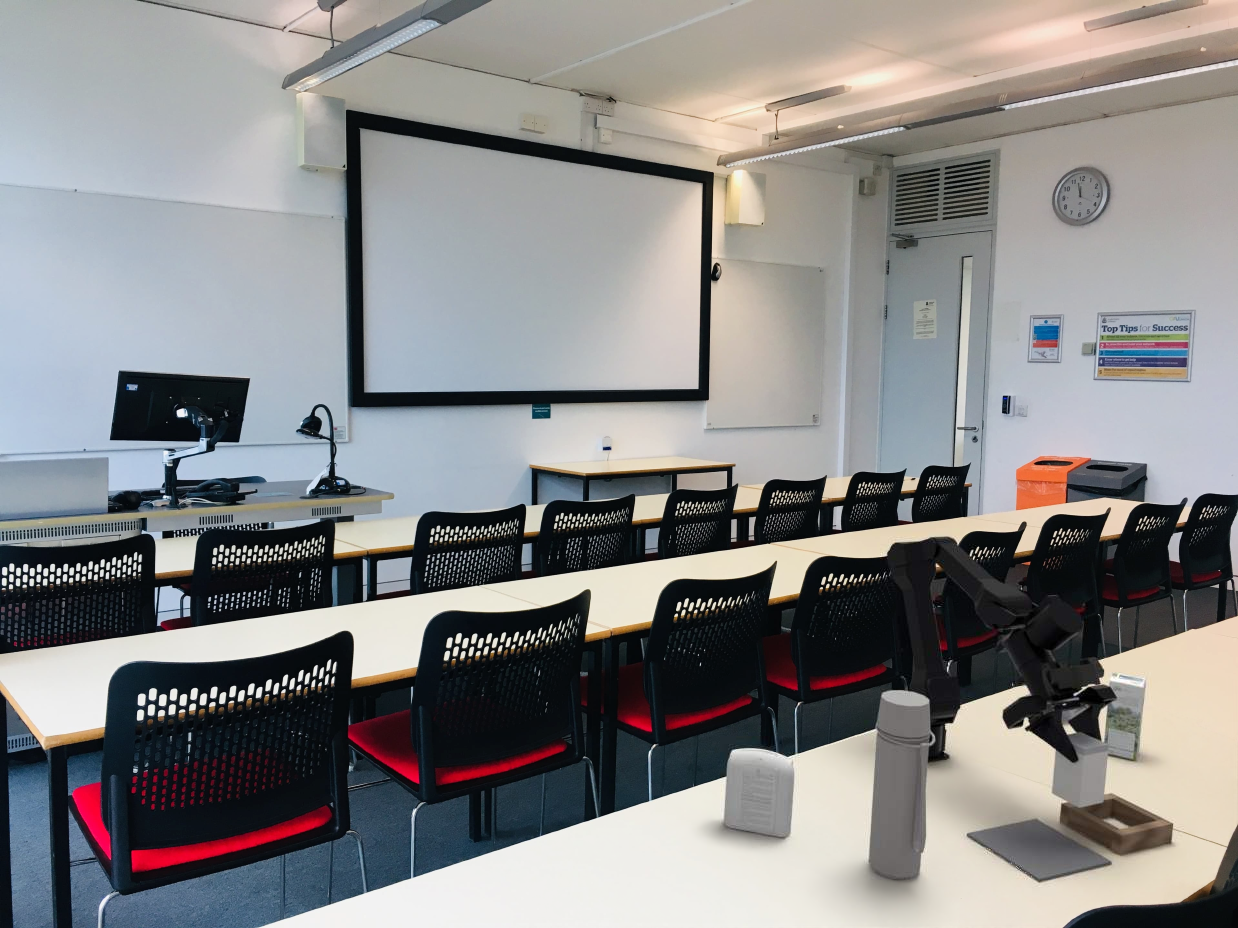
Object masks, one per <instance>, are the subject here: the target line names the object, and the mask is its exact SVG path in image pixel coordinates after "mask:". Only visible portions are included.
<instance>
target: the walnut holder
mask: <svg viewBox="0 0 1238 928" xmlns="http://www.w3.org/2000/svg"><path fill="white" fill-rule="evenodd" d="M1059 814H1060V815H1059V823H1060V824H1061V823H1062V824H1063V825H1065V826H1067V827H1069V828H1070V829H1073V830H1074V831H1076V832H1078V833H1080V834H1081V835H1083V836H1084V837H1087V838H1089V839H1090V840H1092V841H1094V842H1096V843H1098V844H1100V845H1101V846H1103V847H1105V848H1107V849H1109V850H1110V851H1112V852H1114V853H1116V854H1118V855H1126V854H1129V853H1133V852H1137V851H1141V850H1145V849H1149V848H1153V847H1158V846H1161V845H1166V844H1170V843H1172V840H1173V829H1174V822H1171V821H1169V820H1167V819H1165V818H1163V817H1161V816H1160V815H1157V814H1155V813H1153V812H1151V811H1149V810H1146V809H1144V808H1143V807H1141V806H1139V805H1137V804H1135V803H1132V802H1131V801H1129V800H1127V799H1125V798H1123V797H1120V796H1118V795H1116V794H1114V793H1112V792H1110V793H1106V794H1105V793H1104V800H1103V803H1098V804H1094V805H1089V806H1085V807H1081V808H1079V807H1077V806H1075V805H1073V804H1071V803H1069V802H1067V801H1065V802H1061V804H1060V813H1059ZM1110 817H1111V818H1113V819H1116V820H1118V821H1119V822H1120V823H1123V824H1126V826H1127V825H1128V827H1124V828H1121V829H1120V828H1119V827H1117V826H1115V825H1113V824H1111V823H1109V822H1107V821H1105V820H1103V819H1105V818H1110Z"/></svg>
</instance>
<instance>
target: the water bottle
mask: <svg viewBox="0 0 1238 928" xmlns="http://www.w3.org/2000/svg"><path fill="white" fill-rule="evenodd" d="M876 719H877V720H876V723H875V730H876V732H877V733H876V738H875V739H876V741H875V755H874V757H875V758H874V770H873V772H874V773H873V785H872V786H873V787H872V788H873V789H872V801H871V816H870V817H871V820H870V821H871V822H870V835H869V851H868V863H869V864H870V866H871V867H872V869H873V870H874V872H875V873H878V874H879V875H881V876H882V877H886V878H890V879H894V880H908V879H911V878H913V877H915V876H917V875H918V874H919V873H920V870H921V864H922V862H921V861H922V854H923V853H924V852H925V847H926V840H927V794H926V793H927V792H926V791H927V789H926V787H927V778H928V764H929V762H928V750H929V746H932V745H933V743H934V742H935V735H934V734H933V733H932V732H931V731H930V703H929V699H928V698H926V697H925V696H924V695H921V694H918V693H915V692H910V691H908V690H903V689H902V690H901V689H900V690H894V689H892V690H887V691H883V692H882V693H881V696H880V702H879V709H878V714H877V718H876ZM930 734H931V736H932V738H933V739H932V742H931V743H929V737H930Z"/></svg>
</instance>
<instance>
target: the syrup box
mask: <svg viewBox="0 0 1238 928" xmlns="http://www.w3.org/2000/svg"><path fill="white" fill-rule="evenodd" d="M1146 684H1147V679H1146V678H1144V677H1139V676H1133V675H1128V674H1122V673H1118V672H1117V673H1116V672H1112V674H1111V676H1110V678H1109V684H1108V686H1110V687H1111V688H1112V690H1113V692H1114V693H1115V695H1116V697H1117V699H1116V700H1115V701H1113V702H1112V703H1110V704H1109V705H1107V706H1106V713H1105V714H1106V718H1105V728H1104V739H1103V742H1104V743H1107V744H1109V749H1108V756H1111V757H1112V756H1113V757H1114V758H1115V757H1116V758H1119V759H1125V760H1130V761H1133V762H1134V761H1135V762H1136V761H1137V760H1138V757H1139V754H1140V749H1141V747H1140V746H1141V733H1142V732H1141V731H1142V724H1143V723H1142V722H1143V712H1144V707H1145V706H1144V702H1145V694H1146V688H1147V687H1146Z"/></svg>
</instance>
